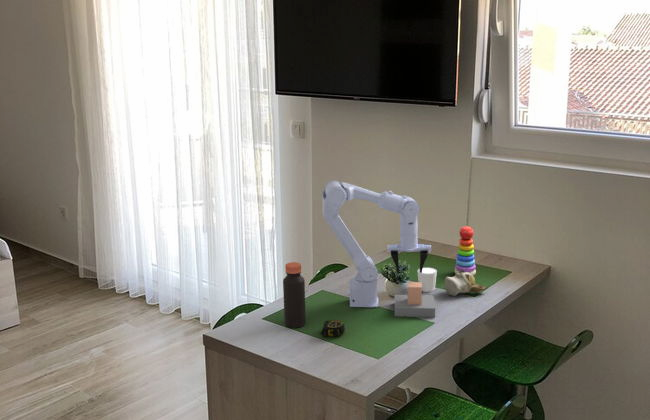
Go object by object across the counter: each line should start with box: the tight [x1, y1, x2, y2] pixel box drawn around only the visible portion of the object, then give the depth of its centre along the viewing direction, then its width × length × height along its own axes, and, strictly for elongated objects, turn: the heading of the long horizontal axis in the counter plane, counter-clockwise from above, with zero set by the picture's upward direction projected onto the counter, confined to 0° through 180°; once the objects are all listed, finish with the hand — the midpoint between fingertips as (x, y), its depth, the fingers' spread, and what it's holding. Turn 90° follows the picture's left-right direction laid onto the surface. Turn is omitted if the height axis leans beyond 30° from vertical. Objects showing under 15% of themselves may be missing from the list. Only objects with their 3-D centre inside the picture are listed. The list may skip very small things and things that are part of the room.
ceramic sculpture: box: [444, 270, 489, 297], centre depth 243 cm, size 11×9×15 cm
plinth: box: [394, 294, 436, 318], centre depth 229 cm, size 13×11×3 cm
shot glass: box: [417, 267, 438, 293], centre depth 247 cm, size 7×7×7 cm
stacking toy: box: [454, 225, 477, 276], centre depth 259 cm, size 8×8×19 cm
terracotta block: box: [407, 281, 423, 305], centre depth 228 cm, size 4×4×6 cm
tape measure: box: [320, 319, 346, 338], centre depth 213 cm, size 7×7×4 cm
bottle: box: [282, 261, 307, 329], centre depth 218 cm, size 7×7×20 cm
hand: (409, 271), depth 235 cm, fingers open, 7 cm apart
